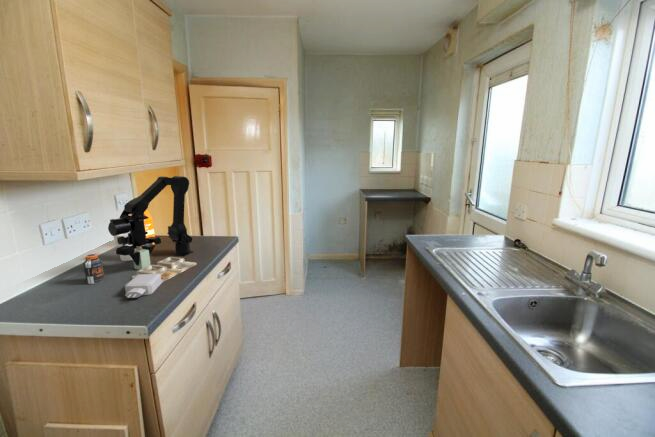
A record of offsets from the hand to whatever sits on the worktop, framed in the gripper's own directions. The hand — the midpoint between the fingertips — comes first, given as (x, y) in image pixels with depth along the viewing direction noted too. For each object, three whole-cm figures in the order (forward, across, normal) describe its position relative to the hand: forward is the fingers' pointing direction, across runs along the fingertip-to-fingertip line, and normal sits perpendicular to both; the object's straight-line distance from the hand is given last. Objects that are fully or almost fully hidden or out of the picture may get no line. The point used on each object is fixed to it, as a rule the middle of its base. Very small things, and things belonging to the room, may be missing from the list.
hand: (142, 263), depth 138 cm
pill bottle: (+2, +17, -6) cm, 18 cm away
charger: (+2, +20, +20) cm, 28 cm away
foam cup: (+2, -7, -16) cm, 18 cm away
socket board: (+2, 0, +13) cm, 13 cm away
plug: (+2, 0, 0) cm, 2 cm away
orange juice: (+2, -26, -27) cm, 38 cm away
